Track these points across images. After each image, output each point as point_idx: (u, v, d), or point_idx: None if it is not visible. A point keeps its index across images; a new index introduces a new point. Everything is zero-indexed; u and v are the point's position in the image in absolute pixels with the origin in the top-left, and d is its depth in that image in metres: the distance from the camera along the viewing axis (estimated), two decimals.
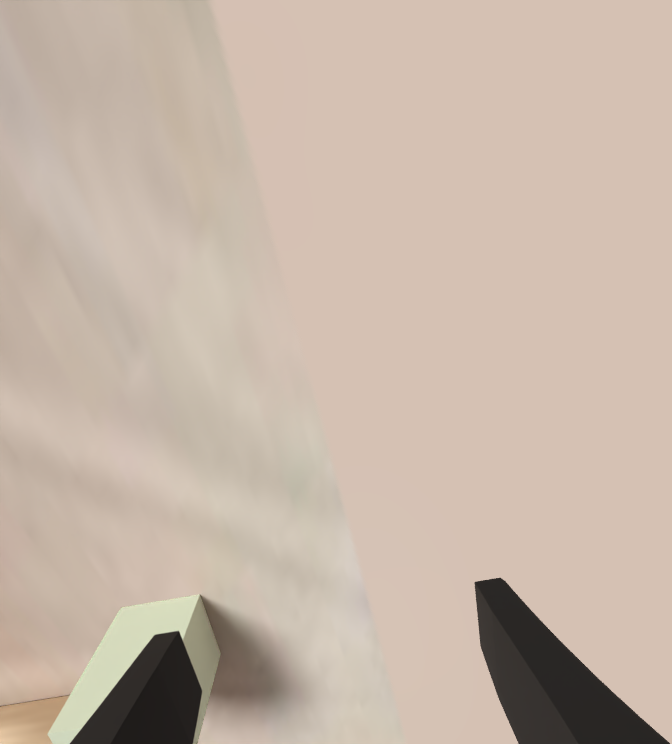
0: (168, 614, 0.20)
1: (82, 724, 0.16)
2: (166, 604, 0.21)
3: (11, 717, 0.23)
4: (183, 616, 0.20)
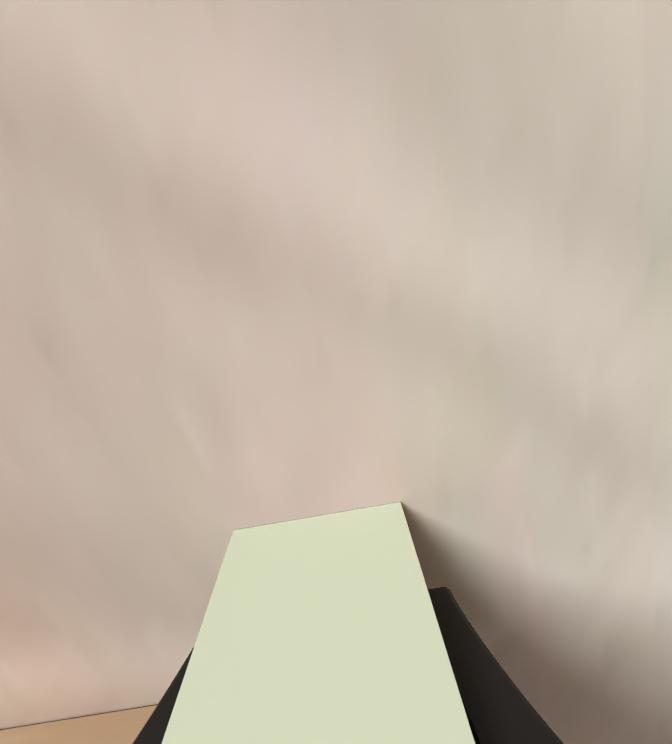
0: (351, 537, 0.09)
1: None
2: (335, 521, 0.10)
3: None
4: (391, 540, 0.09)
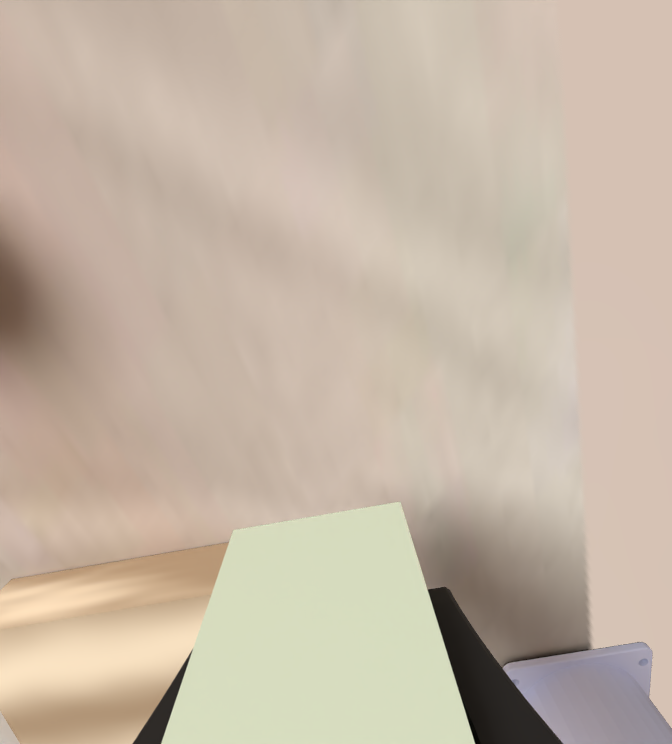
0: (351, 537, 0.09)
1: None
2: (334, 521, 0.10)
3: (123, 571, 0.18)
4: (391, 539, 0.09)
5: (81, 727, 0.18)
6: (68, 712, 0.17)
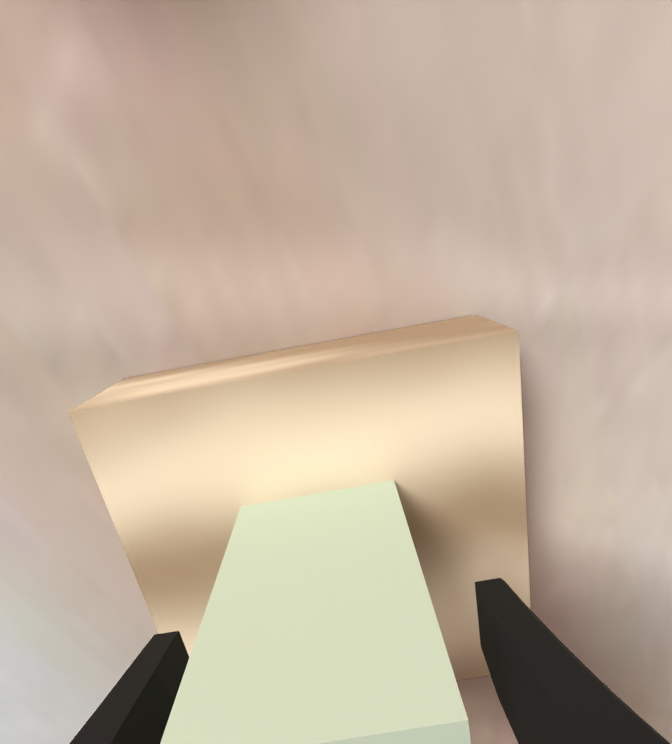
0: (348, 510, 0.10)
1: (249, 741, 0.06)
2: (333, 497, 0.11)
3: (298, 351, 0.12)
4: (384, 511, 0.10)
5: None
6: (224, 551, 0.12)
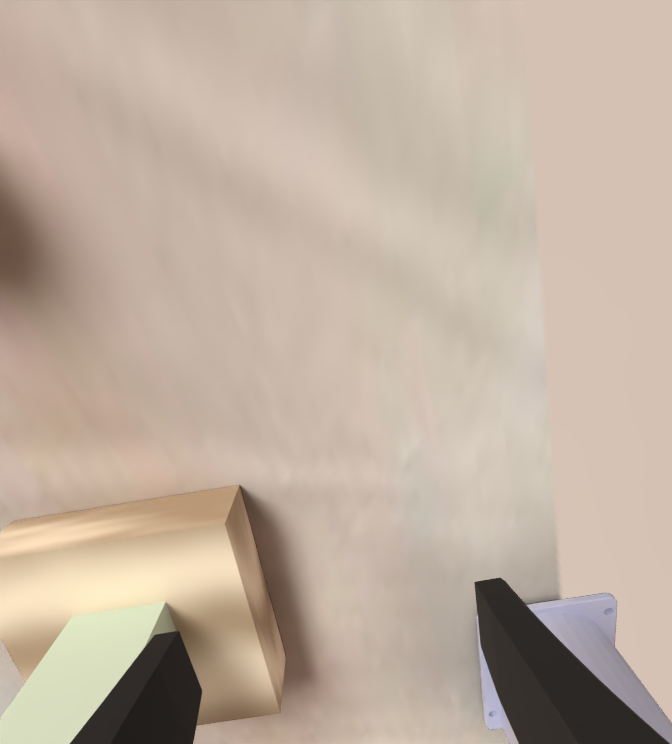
0: (126, 626, 0.17)
1: None
2: (125, 614, 0.18)
3: (119, 512, 0.19)
4: (143, 629, 0.17)
5: None
6: None
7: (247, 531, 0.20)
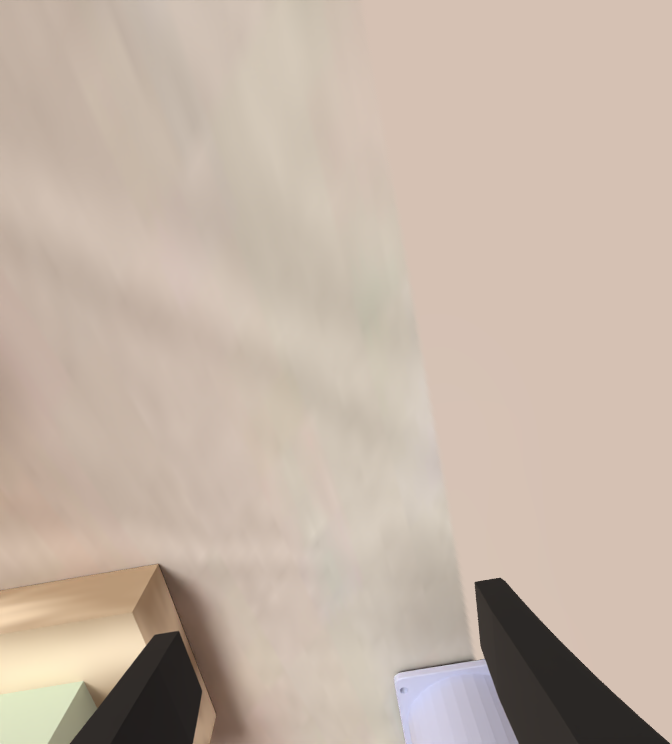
0: (42, 707, 0.18)
1: None
2: (44, 694, 0.19)
3: (43, 593, 0.20)
4: (56, 712, 0.18)
5: None
6: None
7: (166, 607, 0.21)
